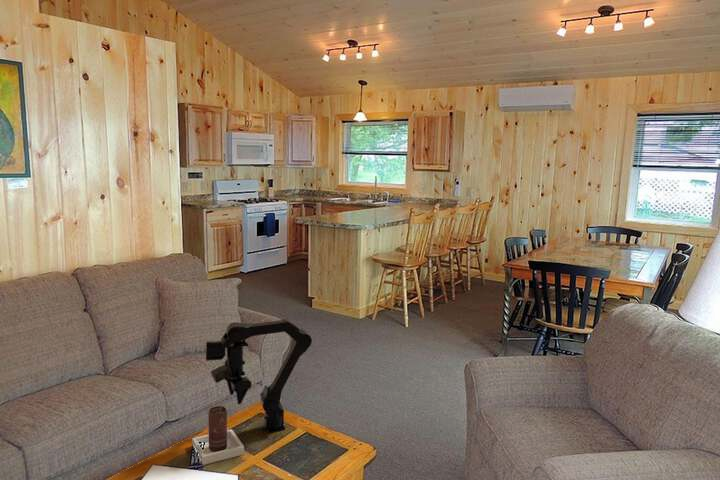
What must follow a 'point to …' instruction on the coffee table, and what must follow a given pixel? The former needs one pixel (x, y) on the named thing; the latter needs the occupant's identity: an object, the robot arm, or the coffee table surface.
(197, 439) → the tray
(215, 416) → the can
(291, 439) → the coffee table surface
